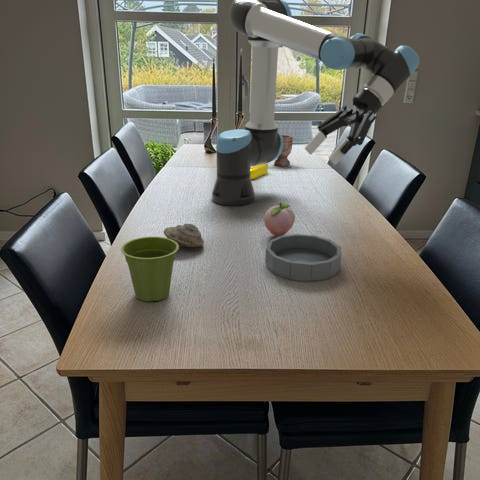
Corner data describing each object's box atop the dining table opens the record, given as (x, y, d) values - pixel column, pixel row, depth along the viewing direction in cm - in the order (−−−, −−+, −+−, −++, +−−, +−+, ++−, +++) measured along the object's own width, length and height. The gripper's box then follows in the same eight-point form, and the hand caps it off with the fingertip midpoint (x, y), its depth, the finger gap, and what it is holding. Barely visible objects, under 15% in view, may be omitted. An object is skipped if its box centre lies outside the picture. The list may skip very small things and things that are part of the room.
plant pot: (171, 311, 95) (168, 260, 91) (116, 305, 97) (111, 255, 93) (187, 284, 106) (185, 238, 102) (137, 279, 108) (133, 234, 103)
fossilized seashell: (172, 244, 117) (173, 217, 119) (156, 250, 126) (157, 225, 127) (209, 248, 123) (210, 222, 124) (191, 254, 132) (192, 230, 133)
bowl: (261, 277, 109) (262, 260, 108) (270, 247, 126) (271, 232, 124) (339, 285, 106) (341, 267, 105) (338, 253, 123) (340, 237, 121)
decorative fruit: (270, 228, 139) (272, 196, 135) (297, 233, 135) (299, 200, 132) (258, 239, 131) (259, 205, 127) (285, 244, 128) (287, 210, 124)
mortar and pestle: (266, 167, 209) (267, 121, 201) (265, 162, 217) (266, 118, 209) (291, 167, 209) (294, 121, 201) (290, 162, 217) (292, 118, 209)
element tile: (269, 173, 200) (269, 162, 198) (251, 181, 188) (251, 169, 186) (239, 168, 207) (240, 158, 205) (220, 175, 195) (220, 164, 194)
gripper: (408, 112, 118) (351, 175, 119) (354, 102, 139) (306, 156, 140) (393, 90, 114) (334, 156, 115) (340, 84, 136) (291, 139, 137)
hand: (319, 156), depth 128 cm, fingers open, 13 cm apart
